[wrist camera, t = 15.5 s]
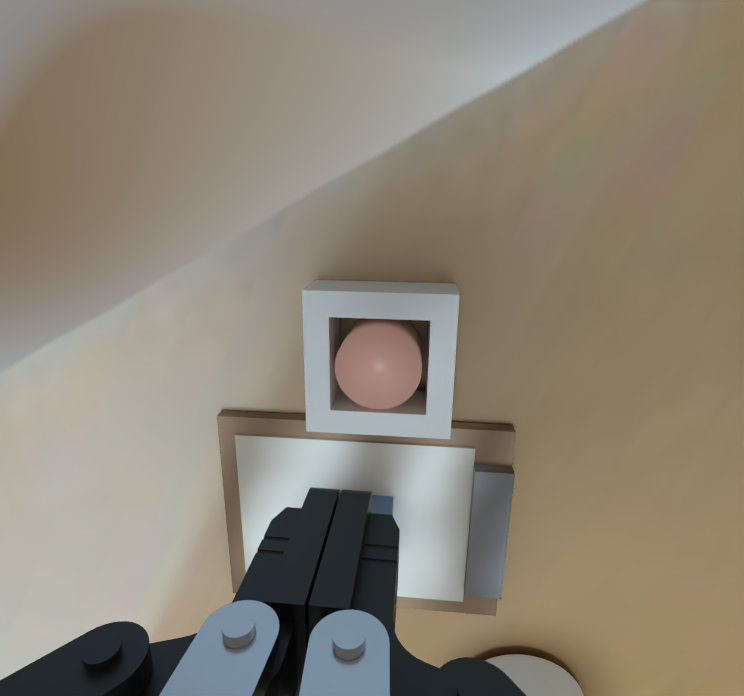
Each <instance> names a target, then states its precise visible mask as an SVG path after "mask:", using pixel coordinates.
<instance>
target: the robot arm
mask: <svg viewBox="0 0 744 696" xmlns="http://www.w3.org/2000/svg"><path fill="white" fill-rule="evenodd" d="M372 501H373V498H372V491H359V490H344V489H342V491H341V490H340V489H328V488H314V487H311V488H310V489H309V491H308V493H307V496H306V498H305V501H304V503H303V506H302V508H292V507H286V508H285V509H284V510H283V511H281V512H280V513H279V514H278V515H277V516H276V517H274V518H273V519H272V520H271V522H270V524H269V526H268V528H267V530H266V533H265V535H264V539H262V541H261V543H260V545H259V547H258V549H257V553H255V556H254V558H253V560H252V562H251V564H250V566H249V568H248V570H247V572H246V574H245V576H244V579H243V581H242V583H241V585H240V587H239V589H238V591H237V593H236V595H235V597H234V599H233V601H232V603H230V604H227V605H225V606H223V607H221V608H220V609H218V610H216V611H215V612H214V613H213V614H211V615H210V616H209V617H208V618H207V620H206V621H205V622H204V624H203V625H202V627H201V628H200V630H199V632H198V633H196V634H193V635H190V636H186V637H182V638H177V639H172V640H166V641H161V642H156V643H149V637H148V634H147V632H146V630H145V629H144V628H143V627H141V626H140V625H138V624H136V623H133V622H113V623H109V624H105V625H102V626H100V627H97V628H95V629H93V630H91V631H89V632H87V633H85V634H83V635H82V636H80V637H78V638H76V639H74V640H73V641H71V642H69V643H67V644H65V645H64V646H62V647H60V648H58V649H56V650H54V651H53V652H51V653H49V654H47V655H45V656H44V657H42V658H40V659H38V660H36V661H35V662H33V663H31V664H29V665H27V666H26V667H24V668H22V669H20V670H18V671H17V672H15V673H13V674H11V675H9V676H7V677H6V678H4V679H2V680H0V696H526V695H525V694H524V692H523V691H522V690H521V689H520V688H519V687H518V686H517V685H516V684H515V683H514V682H513V681H512V680H511V679H510V678H509V677H508V676H507V675H506V674H505V673H504V672H503V671H502V670H501V669H499V668H498V667H496V666H495V665H493V664H491V663H489V662H487V661H484V660H481V659H476V658H467V657H465V658H458V659H454V660H451V661H449V662H447V663H446V664H444V665H443V666H442V667H441V668H440V669H439V668H437V667H435V666H432V665H430V664H428V663H425V662H423V661H421V660H419V659H417V658H416V657H414V656H413V655H411V654H410V653H409V652H408V651H407V650H406V649H405V648H404V647H403V646H402V645H401V643H400V642H399V640H398V638H397V637H396V634H395V617H396V603H397V590H398V567H399V536H400V529H399V527H398V526H397V524H396V522H395V520H394V518H393V516H392V515H389V514H376V513H372Z"/></svg>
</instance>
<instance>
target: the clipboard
mask: <svg viewBox="0 0 744 696" xmlns="http://www.w3.org/2000/svg"><path fill="white" fill-rule="evenodd" d="M217 421H218V432H219V443H220V454H221V465H222V476H223V487H224V498H225V509H226V520H227V531H228V543H229V554H230V565H231V576H232V587H233V593H237V591H238V589H239V587H240V585H241V583H242V581H243V579H244V576H245V574H246V572H247V570H248V568H249V566H250V564H251V562H252V560H253V558H254V556H255V553H257V549H258V547H259V545H260V543H261V541H262V539H264V535H265V533H266V530H267V528H268V526H269V524H270V522H271V520H272V519H273V518H274V517H276V516H277V515H278V514H279V513H280V512H281V511H283V510H284V509H285V508H286V507H292V508H302V506H303V503H304V501H305V498H306V496H307V493H308V491H309V489H310V488H311V487H314V488H328V489H340V490H341V491H342V489H344V490H359V491H372V495H379V496H394V500H393V518H394V520H395V522H396V524H397V526H398V527H399V529H400V536H399V567H398V590H397V603H396V607H401V608H413V609H424V610H436V611H447V612H459V613H470V614H482V615H494V616H496V608H497V599H501V593H502V584H503V574H504V565H505V556H506V547H507V538H508V529H509V520H510V511H511V502H512V493H513V484H514V475H515V474H514V471H513V468H512V460H513V450H514V441H515V429H514V427H513V425H503V424H484V423H465V422H451V435H450V439H435V438H417V437H399V436H381V435H362V434H344V433H326V432H308V431H306V414H292V413H272V412H253V411H234V410H222V411H221V412H220V413H219V414H218V415H217Z"/></svg>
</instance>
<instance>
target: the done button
mask: <svg viewBox="0 0 744 696" xmlns="http://www.w3.org/2000/svg"><path fill="white" fill-rule="evenodd" d="M421 373H422V346H421V341H420V338H419V335H418V333H417V331H416V330H415V328H414V327H413V326H412V325H411V324H410V323H409V322H408V321H407V320H397V319H367V318H361V319H359V320H358V321H357V322H356V323H355V324H354V325H353V326H352V327H351V329H350V330H349V332H348V334H347V336H346V337H345V339H344V341H343V343H342V345H341V347H340V348H339V350H338V353H337V356H336V360H335V374H336V379H337V381H338V384H339V386H340V388H341V389H342V391H343V392H344V393H345V394H346V395H347V396H348V397H349V398H350V399H351V400H352V401H354V402H355V403H357V404H359V405H361V406H364V407H366V408H371V409H389V408H393V407H395V406H398V405H400V404H402V403H404V402H405V401H406V400H408V399H409V398H410V397H411V396H412V395H413V393H414V392H415V391H416V389H417V387H418V385H419V382H420V379H421Z"/></svg>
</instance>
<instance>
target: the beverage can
mask: <svg viewBox="0 0 744 696" xmlns="http://www.w3.org/2000/svg"><path fill="white" fill-rule="evenodd" d="M485 661H487V662H489V663H491V664H493V665H495V666H496V667H498V668H499V669H501V670H502V671H503V672H504V673H505V674H506V675H507V676H508V677H509V678H510V679H511V680H512V681H513V682H514V683H515V684H516V685H517V686H518V687H519V688H520V689H521V690H522V691H523V692H524V694H525V695H526V696H584V695H583V692H582V690H581V688H580V686H579V684H578V683H577V682H576V680H575V679H574V678H573V677H572V676H571V675H570V674H569V673H568V672H567V671H566V670H564V669H563V668H561V667H560V666H558V665H556V664H555V663H553V662H550V661H548V660H545V659H543V658H539V657H535V656H530V655H522V654H510V655H502V656H497V657H493V658H490V659H487V660H485Z"/></svg>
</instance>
